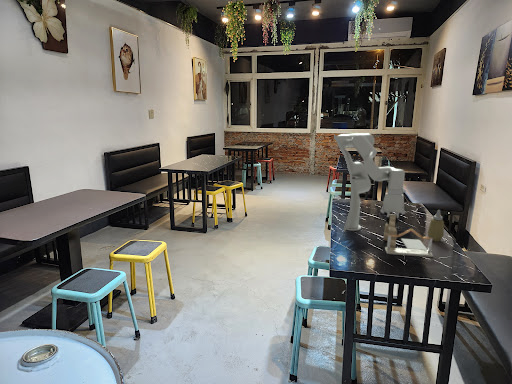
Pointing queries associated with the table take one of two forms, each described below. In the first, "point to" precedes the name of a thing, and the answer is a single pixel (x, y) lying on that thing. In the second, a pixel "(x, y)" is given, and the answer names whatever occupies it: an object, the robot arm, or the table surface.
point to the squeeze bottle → (436, 227)
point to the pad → (413, 244)
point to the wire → (409, 251)
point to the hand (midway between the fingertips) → (391, 223)
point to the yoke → (390, 230)
